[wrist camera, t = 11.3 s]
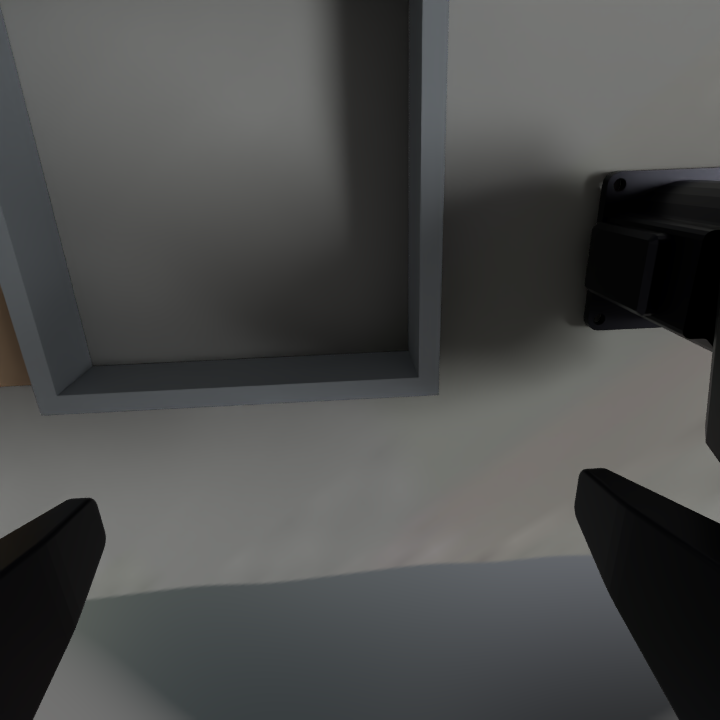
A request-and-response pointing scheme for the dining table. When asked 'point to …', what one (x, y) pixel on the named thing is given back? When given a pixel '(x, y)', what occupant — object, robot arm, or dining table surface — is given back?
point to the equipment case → (218, 377)
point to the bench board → (10, 351)
